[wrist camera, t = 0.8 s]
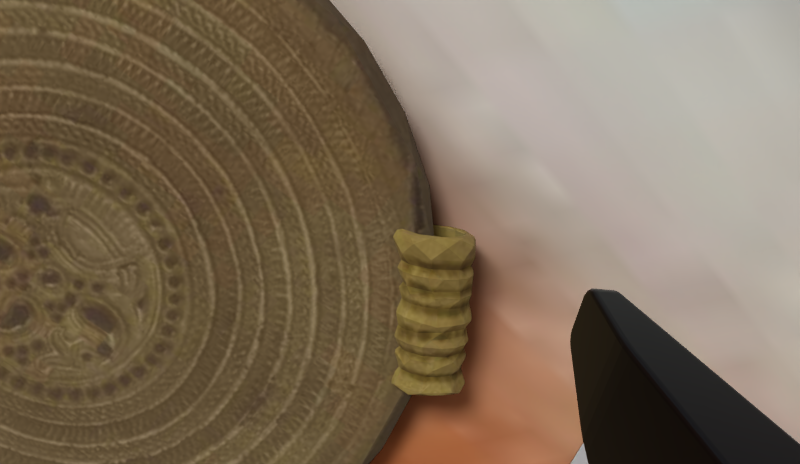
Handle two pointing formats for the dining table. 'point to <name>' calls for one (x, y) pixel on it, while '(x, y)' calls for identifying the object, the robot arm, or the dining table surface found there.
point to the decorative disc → (213, 238)
